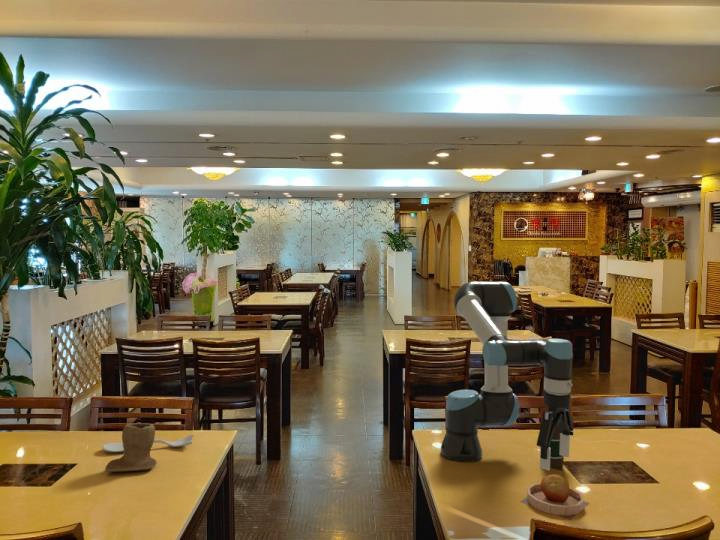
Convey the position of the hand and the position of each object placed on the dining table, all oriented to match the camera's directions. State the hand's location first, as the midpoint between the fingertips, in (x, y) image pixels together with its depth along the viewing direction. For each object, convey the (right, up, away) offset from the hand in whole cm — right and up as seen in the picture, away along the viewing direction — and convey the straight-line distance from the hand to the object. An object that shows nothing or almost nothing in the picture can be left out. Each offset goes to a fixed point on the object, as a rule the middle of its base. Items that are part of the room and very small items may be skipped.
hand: (554, 462), depth 155 cm
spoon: (-138, -11, +42) cm, 145 cm away
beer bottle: (+10, -13, +29) cm, 33 cm away
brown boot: (-136, -11, +23) cm, 138 cm away
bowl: (0, -12, 0) cm, 12 cm away
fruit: (0, -11, 0) cm, 11 cm away
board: (0, -13, 0) cm, 13 cm away
